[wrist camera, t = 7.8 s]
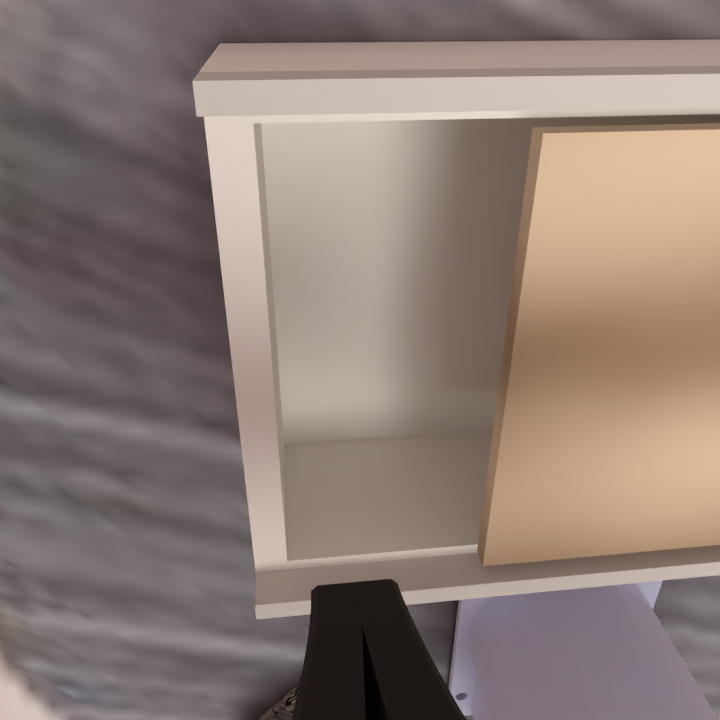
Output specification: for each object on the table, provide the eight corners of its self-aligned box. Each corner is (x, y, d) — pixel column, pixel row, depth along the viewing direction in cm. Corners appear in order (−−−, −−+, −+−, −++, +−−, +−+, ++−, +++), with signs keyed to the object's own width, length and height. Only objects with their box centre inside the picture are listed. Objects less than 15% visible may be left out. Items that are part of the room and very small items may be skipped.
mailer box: (675, 430, 22) (796, 567, 17) (260, 460, 21) (256, 619, 16) (795, 38, 16) (1040, 69, 11) (220, 43, 15) (192, 80, 10)
